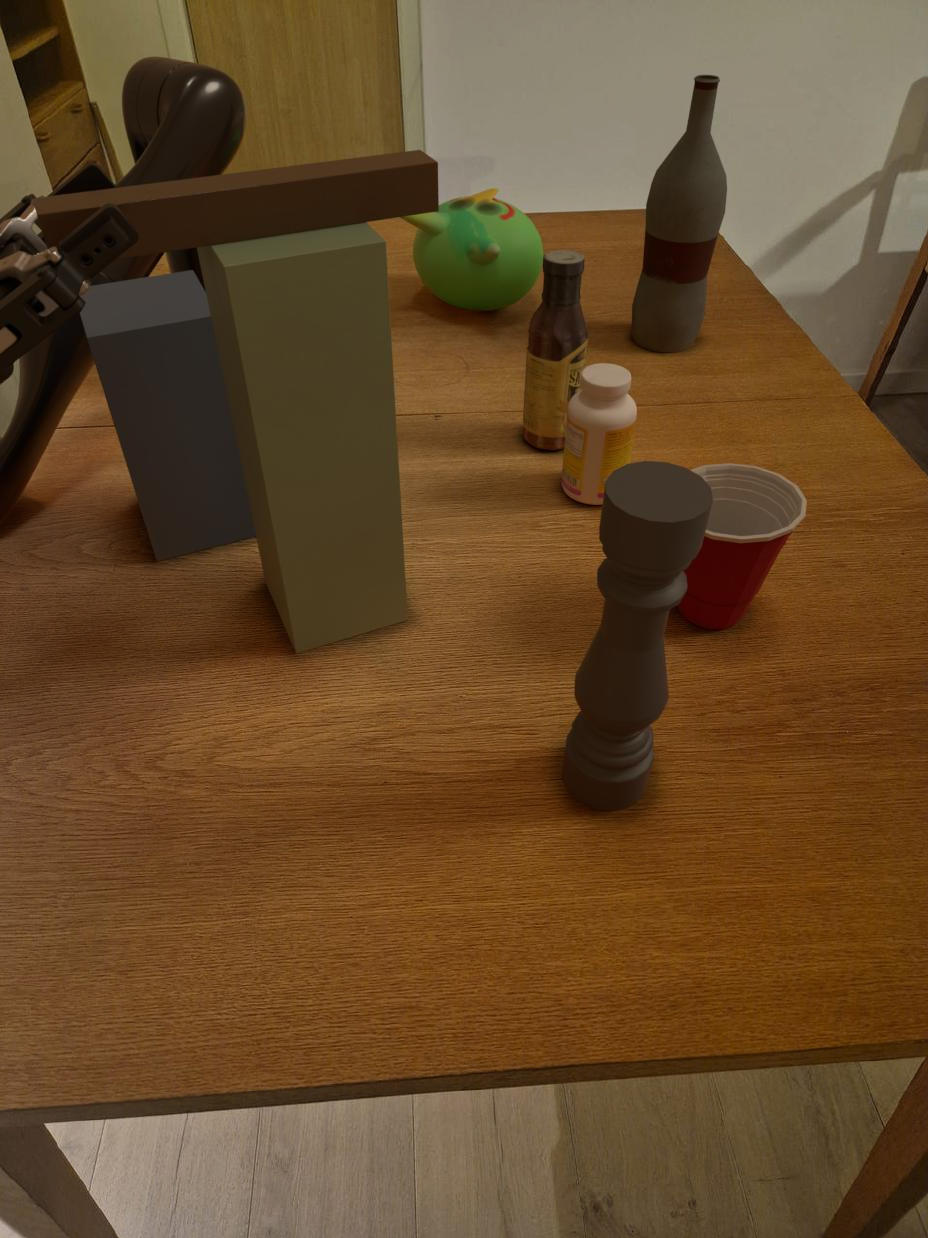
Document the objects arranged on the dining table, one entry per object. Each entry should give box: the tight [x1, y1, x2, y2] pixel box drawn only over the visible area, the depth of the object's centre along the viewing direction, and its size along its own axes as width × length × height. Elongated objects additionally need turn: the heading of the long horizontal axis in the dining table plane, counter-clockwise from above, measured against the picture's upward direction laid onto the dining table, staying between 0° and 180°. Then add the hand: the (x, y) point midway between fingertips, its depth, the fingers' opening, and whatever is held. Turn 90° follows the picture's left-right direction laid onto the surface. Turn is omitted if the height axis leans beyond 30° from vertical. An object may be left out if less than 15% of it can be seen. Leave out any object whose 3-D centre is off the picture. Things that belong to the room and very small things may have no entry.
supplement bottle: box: [561, 362, 638, 506], centre depth 85 cm, size 7×7×13 cm
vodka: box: [631, 74, 728, 354], centre depth 104 cm, size 9×9×30 cm
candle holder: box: [561, 460, 713, 812], centre depth 54 cm, size 6×6×25 cm
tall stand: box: [197, 222, 409, 654], centre depth 66 cm, size 10×10×32 cm
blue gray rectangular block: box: [80, 270, 256, 562], centre depth 78 cm, size 10×10×22 cm
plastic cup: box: [677, 462, 808, 630], centre depth 72 cm, size 11×11×12 cm
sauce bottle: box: [522, 248, 589, 451], centre depth 90 cm, size 6×6×20 cm
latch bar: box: [33, 149, 440, 260], centre depth 53 cm, size 24×3×3 cm, turn 114°
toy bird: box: [399, 187, 544, 312], centre depth 117 cm, size 18×17×15 cm
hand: (116, 196), depth 50 cm, fingers open, 8 cm apart
